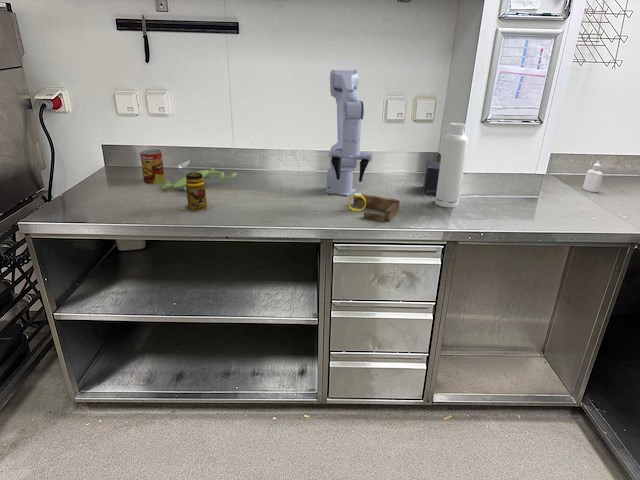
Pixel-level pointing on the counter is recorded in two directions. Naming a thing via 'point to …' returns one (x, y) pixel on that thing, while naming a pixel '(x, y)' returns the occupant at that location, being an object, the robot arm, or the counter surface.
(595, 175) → the eye dropper bottle
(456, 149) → the bottle
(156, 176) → the canned food
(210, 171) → the figurine
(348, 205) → the watch
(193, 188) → the condiment
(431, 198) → the counter surface
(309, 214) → the counter surface
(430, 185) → the small box
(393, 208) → the wooden u-shaped block
